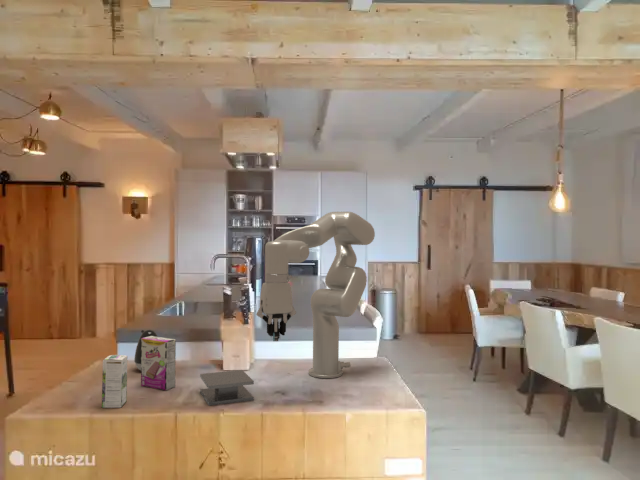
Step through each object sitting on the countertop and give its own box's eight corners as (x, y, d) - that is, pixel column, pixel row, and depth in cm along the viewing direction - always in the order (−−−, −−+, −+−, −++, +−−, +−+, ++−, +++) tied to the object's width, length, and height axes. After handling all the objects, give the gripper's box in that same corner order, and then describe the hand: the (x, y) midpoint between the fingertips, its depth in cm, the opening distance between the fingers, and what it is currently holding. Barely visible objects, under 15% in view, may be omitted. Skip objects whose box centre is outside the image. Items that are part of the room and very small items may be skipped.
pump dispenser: (154, 365, 203) (154, 326, 203) (167, 370, 196) (168, 330, 196) (129, 369, 196) (129, 329, 196) (142, 375, 189) (142, 333, 188)
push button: (284, 342, 167) (284, 311, 167) (267, 342, 167) (267, 311, 167) (283, 338, 174) (283, 308, 174) (267, 338, 174) (267, 308, 173)
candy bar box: (139, 386, 175) (140, 338, 175) (150, 382, 180) (150, 335, 180) (165, 391, 171) (166, 341, 170) (176, 387, 175) (176, 338, 175)
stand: (242, 387, 176) (242, 369, 175) (253, 400, 163) (253, 381, 163) (200, 392, 170) (200, 373, 170) (208, 405, 157) (208, 385, 157)
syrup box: (107, 401, 160) (107, 354, 159) (127, 401, 160) (127, 354, 160) (101, 408, 154) (101, 359, 154) (122, 408, 154) (122, 359, 154)
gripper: (296, 277, 177) (295, 331, 177) (249, 278, 170) (248, 334, 171) (304, 279, 170) (304, 335, 170) (255, 281, 163) (255, 339, 164)
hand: (276, 334), depth 171 cm, fingers closed on push button, 3 cm apart
